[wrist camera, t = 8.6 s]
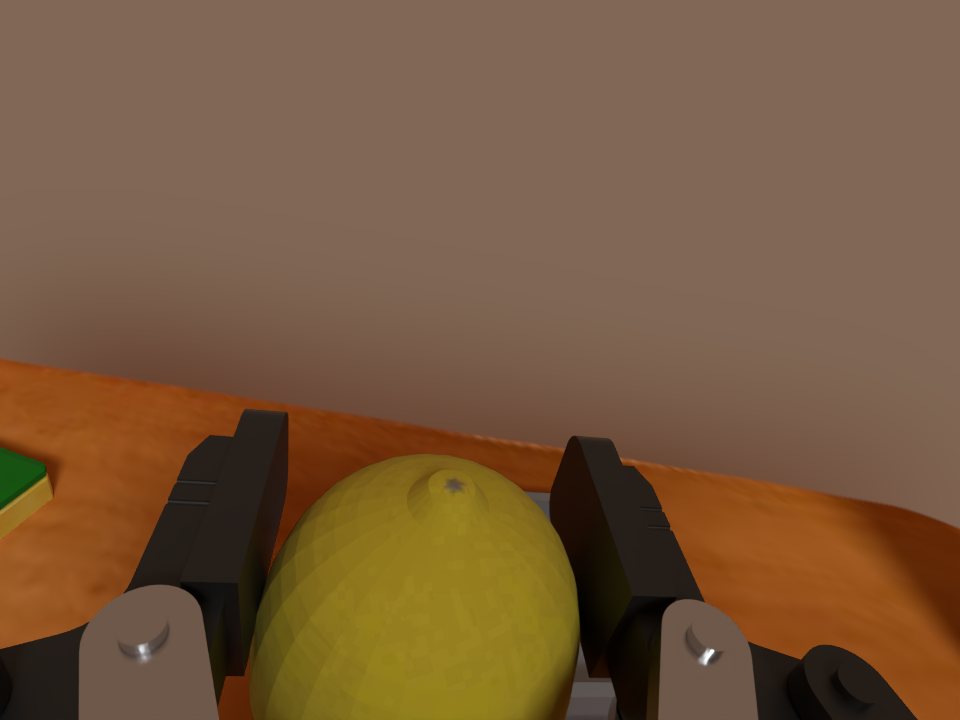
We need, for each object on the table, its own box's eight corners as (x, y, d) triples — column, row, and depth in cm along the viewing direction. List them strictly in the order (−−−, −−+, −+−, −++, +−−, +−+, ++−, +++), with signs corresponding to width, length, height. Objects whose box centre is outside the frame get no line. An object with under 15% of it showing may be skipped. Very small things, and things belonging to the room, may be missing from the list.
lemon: (307, 1009, 9) (335, 793, 5) (224, 688, 13) (199, 404, 9) (569, 811, 12) (730, 568, 8) (442, 595, 16) (504, 348, 12)
